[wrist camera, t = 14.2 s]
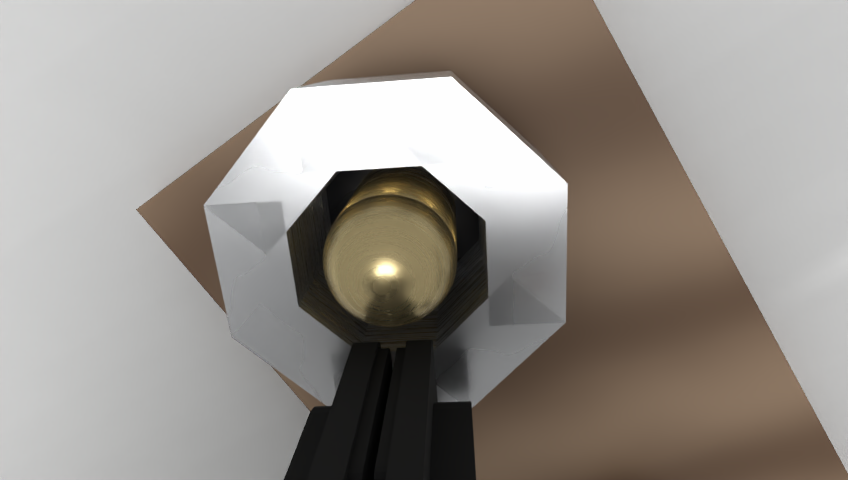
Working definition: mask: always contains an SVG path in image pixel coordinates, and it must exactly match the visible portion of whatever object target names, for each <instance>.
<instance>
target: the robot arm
mask: <svg viewBox="0 0 848 480" xmlns="http://www.w3.org/2000/svg"><path fill="white" fill-rule="evenodd" d="M284 480H476V468H475V452H474V435H473V419H472V403H471V401H461V402H438V400H437V386H436V373H435V360H434V347H433V340H432V339H430V340H407V341H406V347H402V348H397V349H396V354H395V360H394V365H393V370H392V361H391V352H390V349H389V348H381V344H380V342H357V343H353V344H352V347H351V350H350V353H349V356H348V359H347V362H346V365H345V367H344V370H343V373H342V376H341V379H340V382H339V385H338V388H337V391H336V394H335V397H334V400H333V403H332V406H315V407H314V408H312V410H311V412H310V414H309V417H308V419H307V422H306V424H305V427H304V430H303V432H302V435H301V437H300V440H299V442H298V445H297V448H296V450H295V453H294V455H293V458H292V460H291V463H290V465H289V468H288V471H287V473H286V476H285V478H284Z"/></svg>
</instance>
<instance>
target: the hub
mask: <svg viewBox="0 0 848 480" xmlns="http://www.w3.org/2000/svg"><path fill="white" fill-rule="evenodd" d="M326 192H327V200H328V207H329V214H330V222H331V228H330V230H329V232H328V235H327V238H326V240H325V244H324V249H323V270H324V275H325V279H326V281H327V284H328V287H329V289H330V291H331V293H332V295H333V296H334V297H335V299H336V300H337V302H338V303H339V304H340V305H341V306H342V307H343V308H344V309H345V310H346V311H347V312H349V313H350V314H351V315H353V316H354V317H356V318H358V319H360V320H362V321H364V322H367V323H369V324H373V325H377V326H384V327H394V326H402V325H406V324H410V323H413V322H416V321H418V320H420V319H422V318H424V317H425V316H427V315H428V314H430V313H431V312H432V311H433V310H435V309H436V308H437V307H438V306H439V305H440V304H441V303H442V301H443V300H444V299H445V297H446V296H447V294H448V292H449V291H450V288H451V286H452V284H453V282H454V278H455V275H456V268H457V262H458V261H459V260H460V259H461V258H462V257H463V256H464V255H465V254H466V253H467V252H468V251H469V250H470V249H471V247H472V246H473V245H474V244H475V243H476V242H477V241H478V240H479V217H478V214H477V213H476V212H475V211H474V210H472V209H471V208H470V207H469V206H468V205H467V204H465V203H464V202H463V201H462V200H461V199H460V198H459V197H457V196H456V195H455V194H454V193H453V192H452V191H450V190H449V189H448V188H447V187H446V186H445V185H443V184H442V183H441V182H440V181H439V180H438V179H437V178H435V177H434V176H433V175H432V174H431V173H430V172H428V171H427V170H426V169H425V168H424V167H423V166H410V167H394V168H378V169H363V170H347V171H340V172H339V173H338V175H337V176H336V177H335V178H334V180H333V181H332V182H331V183H330V184H329V186H328V187H327V188H326Z"/></svg>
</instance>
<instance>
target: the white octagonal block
mask: <svg viewBox="0 0 848 480" xmlns="http://www.w3.org/2000/svg"><path fill="white" fill-rule="evenodd" d="M410 166H423V167H424V168H425V169H426V170H427V171H428V172H430V173H431V174H432V175H433V176H434V177H435V178H437V179H438V180H439V181H440V182H441V183H442V184H443V185H445V186H446V187H447V188H448V189H449V190H450V191H452V192H453V193H454V194H455V195H456V196H457V197H459V198H460V199H461V200H462V201H463V202H464V203H465V204H467V205H468V206H469V207H470V208H471V209H472V210H474V211H475V212H476V213H477V214H478V217H479V240H478V241H477V242H476V243H475V244H474V245H473V246H472V247H471V249H470V250H469V251H468V252H467V253H466V254H465V255H464V256H463V257H462V258H461V259H460V260H459V261H458V262H457V268H456V275H455V278H454V282H453V284H452V286H451V288H450V291H449V292H448V294H447V296H446V297H445V299H444V300H443V301H442V303H441V304H440V305H439V306H438V307H437V308H436V309H435V310H433V311H432V312H431V313H430V314H428V315H427V316H425V317H424V318H422V319H420V320H418V321H416V322H413V323H410V324H406V325H402V326H394V327H384V326H377V325H373V324H369V323H367V322H364V321H362V320H360V319H358V318H356V317H354V316H353V315H351V314H350V313H349V312H347V311H346V310H345V309H344V308H343V307H342V306H341V305H340V304H339V303H338V302H337V300H336V299H335V297H334V296H333V295H332V293H331V291H330V289H329V287H328V284H327V281H326V279H325V275H324V270H323V249H324V244H325V240H326V238H327V235H328V232H329V230H330V228H331V222H330V214H329V207H328V200H327V192H326V188H327V187H328V186H329V184H330V183H331V182H332V181H333V180H334V178H335V177H336V176H337V175H338V173H339V172H340V171H347V170H363V169H378V168H394V167H410ZM567 196H568V183H567V182H566V181H565V180H564V179H563V178H562V176H561V175H560V174H559V173H558V172H557V171H556V170H555V169H554V168H553V166H552V165H551V164H550V163H549V162H548V161H547V160H546V159H545V158H544V156H543V155H542V154H541V153H540V152H539V151H538V150H537V149H536V148H535V147H534V146H533V145H532V144H530V143H529V142H528V141H527V140H526V139H525V138H524V137H523V136H522V135H521V134H520V133H518V132H517V131H516V130H515V129H514V128H513V127H512V126H511V125H510V124H509V123H508V122H506V121H505V120H504V119H503V118H502V117H501V116H500V115H499V114H498V113H497V112H496V111H495V110H493V109H492V108H491V107H490V106H489V105H488V104H487V103H486V102H485V101H484V100H483V99H481V98H480V97H479V96H478V95H477V94H476V93H475V92H474V91H473V90H472V89H471V88H469V87H468V86H467V85H466V84H465V83H464V82H463V81H462V80H461V79H460V78H459V77H457V76H456V75H455V74H454V73H453V72H452V71H440V72H426V73H413V74H400V75H386V76H373V77H360V78H347V79H333V80H328V81H323V82H319V83H315V84H310V85H306V86H301V87H297V88H292V89H290V90H289V92H288V93H287V94H286V96H285V97H284V98H283V100H282V101H281V102H280V104H279V105H278V106H277V108H276V109H275V110H274V112H273V113H272V114H271V116H270V117H269V118H268V120H267V121H266V122H265V124H264V125H263V126H262V128H261V129H260V130H259V132H258V133H257V134H256V136H255V137H254V138H253V140H252V141H251V143H250V144H249V145H248V147H247V148H246V149H245V151H244V152H243V153H242V155H241V156H240V157H239V159H238V160H237V161H236V163H235V164H234V165H233V167H232V168H231V169H230V171H229V172H228V173H227V175H226V176H225V177H224V179H223V180H222V181H221V183H220V184H219V185H218V187H217V188H216V189H215V191H214V192H213V193H212V195H211V196H210V197H209V199H208V200H207V201H206V203H205V204H204V210H205V215H206V219H207V224H208V229H209V233H210V238H211V243H212V247H213V252H214V257H215V261H216V266H217V271H218V275H219V280H220V285H221V289H222V294H223V299H224V304H225V308H226V313H227V318H228V322H229V327H230V332H231V336H232V338H234V339H235V340H236V341H238V342H239V343H241V344H242V345H243V346H245V347H246V348H248V349H249V350H250V351H252V352H253V353H254V354H256V355H257V356H259V357H260V358H261V359H263V360H264V361H265V362H267V363H268V364H270V365H271V366H272V367H274V368H275V369H276V370H278V371H279V372H281V373H282V374H283V375H285V376H286V377H287V378H289V379H290V380H292V381H293V382H294V383H296V384H297V385H298V386H300V387H301V388H303V389H304V390H305V391H307V392H308V393H310V394H311V395H312V396H314V397H315V398H316V399H318V400H319V401H321V402H322V403H323V404H325V405H326V406H332V403H333V400H334V397H335V394H336V391H337V388H338V385H339V382H340V379H341V376H342V373H343V370H344V367H345V365H346V362H347V359H348V356H349V353H350V350H351V347H352V344H353V343H357V342H380V344H381V348H389V349H390V352H391V361H392V370H393V365H394V360H395V354H396V349H397V348H402V347H406V341H407V340H430V339H432V340H433V347H434V360H435V373H436V386H437V400H438V402H461V401H471V403H472V408H473V407H474V406H475V405H476V404H477V403H478V402H479V401H480V400H482V399H483V398H484V397H485V396H486V395H487V394H488V393H489V392H490V391H491V390H492V389H494V388H495V387H496V386H497V385H498V384H499V383H500V382H501V381H502V380H503V379H505V378H506V377H507V376H508V375H509V374H510V373H511V372H512V371H513V370H514V369H515V368H517V367H518V366H519V365H520V364H521V363H522V362H523V361H524V360H525V359H526V358H528V357H529V356H530V355H531V354H532V353H533V352H534V351H535V350H536V349H537V348H538V347H540V346H541V345H542V344H543V343H544V342H545V341H546V340H547V339H548V338H549V337H550V336H552V335H553V334H554V333H555V332H556V331H557V330H558V329H559V328H560V327H561V326H563V325H564V324H565V323H566V270H567Z"/></svg>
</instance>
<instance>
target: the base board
mask: <svg viewBox="0 0 848 480" xmlns="http://www.w3.org/2000/svg"><path fill="white" fill-rule="evenodd" d="M440 71H452V72H453V73H454V74H455V75H456V76H457V77H459V78H460V79H461V80H462V81H463V82H464V83H465V84H466V85H467V86H468V87H469V88H471V89H472V90H473V91H474V92H475V93H476V94H477V95H478V96H479V97H480V98H481V99H483V100H484V101H485V102H486V103H487V104H488V105H489V106H490V107H491V108H492V109H493V110H495V111H496V112H497V113H498V114H499V115H500V116H501V117H502V118H503V119H504V120H505V121H506V122H508V123H509V124H510V125H511V126H512V127H513V128H514V129H515V130H516V131H517V132H518V133H520V134H521V135H522V136H523V137H524V138H525V139H526V140H527V141H528V142H529V143H530V144H532V145H533V146H534V147H535V148H536V149H537V150H538V151H539V152H540V153H541V154H542V155H543V156H544V158H545V159H546V160H547V161H548V162H549V163H550V164H551V165H552V166H553V168H554V169H555V170H556V171H557V172H558V173H559V174H560V175H561V176H562V178H563V179H564V180H565V181H566V182H567V183H568V196H567V270H566V323H565V324H564V325H563V326H561V327H560V328H559V329H558V330H557V331H556V332H555V333H554V334H553V335H552V336H550V337H549V338H548V339H547V340H546V341H545V342H544V343H543V344H542V345H541V346H540V347H538V348H537V349H536V350H535V351H534V352H533V353H532V354H531V355H530V356H529V357H528V358H526V359H525V360H524V361H523V362H522V363H521V364H520V365H519V366H518V367H517V368H515V369H514V370H513V371H512V372H511V373H510V374H509V375H508V376H507V377H506V378H505V379H503V380H502V381H501V382H500V383H499V384H498V385H497V386H496V387H495V388H494V389H492V390H491V391H490V392H489V393H488V394H487V395H486V396H485V397H484V398H483V399H482V400H480V401H479V402H478V403H477V404H476V405H475V406H474V407H473V408H472V419H473V435H474V452H475V468H476V480H848V473H847V471H846V470H845V468H844V466H843V464H842V462H841V460H840V458H839V457H838V455H837V453H836V451H835V449H834V447H833V445H832V444H831V442H830V440H829V438H828V436H827V434H826V432H825V431H824V429H823V427H822V425H821V423H820V421H819V419H818V418H817V416H816V414H815V412H814V410H813V408H812V406H811V405H810V403H809V401H808V399H807V397H806V395H805V393H804V392H803V390H802V388H801V386H800V384H799V382H798V380H797V379H796V377H795V375H794V373H793V371H792V369H791V367H790V365H789V364H788V362H787V360H786V358H785V356H784V354H783V352H782V351H781V349H780V347H779V345H778V343H777V341H776V339H775V338H774V336H773V334H772V332H771V330H770V328H769V326H768V325H767V323H766V321H765V319H764V317H763V315H762V313H761V312H760V310H759V308H758V306H757V304H756V302H755V300H754V299H753V297H752V295H751V293H750V291H749V289H748V287H747V286H746V284H745V282H744V280H743V278H742V276H741V274H740V273H739V271H738V269H737V267H736V265H735V263H734V261H733V260H732V258H731V256H730V254H729V252H728V250H727V248H726V247H725V245H724V243H723V241H722V239H721V237H720V235H719V234H718V232H717V230H716V228H715V226H714V224H713V222H712V221H711V219H710V217H709V215H708V213H707V211H706V209H705V208H704V206H703V204H702V202H701V200H700V198H699V196H698V195H697V193H696V191H695V189H694V187H693V185H692V183H691V182H690V180H689V178H688V176H687V174H686V172H685V170H684V169H683V167H682V165H681V163H680V161H679V159H678V157H677V156H676V154H675V152H674V150H673V148H672V146H671V144H670V142H669V141H668V139H667V137H666V135H665V133H664V131H663V129H662V128H661V126H660V124H659V122H658V120H657V118H656V116H655V115H654V113H653V111H652V109H651V107H650V105H649V103H648V102H647V100H646V98H645V96H644V94H643V92H642V90H641V89H640V87H639V85H638V83H637V81H636V79H635V77H634V76H633V74H632V72H631V70H630V68H629V66H628V64H627V63H626V61H625V59H624V57H623V55H622V53H621V51H620V50H619V48H618V46H617V44H616V42H615V40H614V38H613V37H612V35H611V33H610V31H609V29H608V27H607V25H606V24H605V22H604V20H603V18H602V16H601V14H600V12H599V11H598V9H597V7H596V5H595V3H594V1H593V0H415V1H414V2H412V3H411V4H410V5H408V6H407V7H406V8H404V9H403V10H402V11H400V12H399V13H398V14H396V15H395V16H394V17H392V18H391V19H390V20H388V21H387V22H386V23H384V24H383V25H382V26H380V27H379V28H378V29H376V30H375V31H374V32H372V33H371V34H370V35H368V36H367V37H366V38H364V39H363V40H362V41H360V42H359V43H358V44H356V45H355V46H354V47H352V48H351V49H350V50H348V51H347V52H346V53H344V54H343V55H342V56H340V57H339V58H338V59H336V60H335V61H334V62H332V63H331V64H330V65H328V66H327V67H326V68H324V69H323V70H322V71H320V72H319V73H318V74H316V75H315V76H314V77H312V78H311V79H310V80H308V81H307V82H306V83H304V84H303V85H302V86H306V85H310V84H315V83H319V82H323V81H328V80H333V79H347V78H360V77H373V76H386V75H400V74H413V73H426V72H440ZM300 87H301V86H300ZM280 102H281V101H280ZM280 102H279V103H278V104H276V105H275V106H274V107H272V108H271V109H270V110H268V111H267V112H266V113H264V114H263V115H262V116H260V117H259V118H258V119H256V120H255V121H254V122H252V123H251V124H250V125H248V126H247V127H246V128H244V129H243V130H242V131H240V132H239V133H238V134H236V135H235V136H234V137H232V138H231V139H230V140H228V141H227V142H226V143H224V144H223V145H222V146H220V147H219V148H218V149H216V150H215V151H214V152H212V153H211V154H210V155H208V156H207V157H206V158H204V159H203V160H202V161H200V162H199V163H198V164H196V165H195V166H194V167H192V168H191V169H190V170H188V171H187V172H186V173H184V174H183V175H182V176H180V177H179V178H178V179H176V180H175V181H174V182H172V183H171V184H170V185H168V186H167V187H166V188H164V189H163V190H162V191H160V192H159V193H158V194H156V195H155V196H154V197H152V198H151V199H150V200H148V201H147V202H146V203H144V204H143V205H142V206H140V207H139V208H138V209H136V210H137V211H138V212H139V213H140V215H141V216H142V217H143V218H144V219H145V220H146V221H147V223H148V224H149V225H150V226H151V227H152V228H153V230H154V231H155V232H156V233H157V234H158V235H159V237H160V238H161V239H162V240H163V241H164V242H165V244H166V245H167V246H168V247H169V248H170V249H171V250H172V252H173V253H174V254H175V255H176V256H177V257H178V259H179V260H180V261H181V262H182V263H183V264H184V266H185V267H186V268H187V269H188V270H189V271H190V272H191V274H192V275H193V276H194V277H195V278H196V279H197V281H198V282H199V283H200V284H201V285H202V286H203V288H204V289H205V290H206V291H207V292H208V293H209V295H210V296H211V297H212V298H213V299H214V300H215V301H216V303H217V304H218V305H219V306H220V307H221V308H222V310H223V311H224V312H225V313H226V308H225V304H224V299H223V294H222V289H221V285H220V280H219V275H218V271H217V266H216V261H215V257H214V252H213V247H212V243H211V238H210V233H209V229H208V224H207V219H206V215H205V210H204V204H205V203H206V201H207V200H208V199H209V197H210V196H211V195H212V193H213V192H214V191H215V189H216V188H217V187H218V185H219V184H220V183H221V181H222V180H223V179H224V177H225V176H226V175H227V173H228V172H229V171H230V169H231V168H232V167H233V165H234V164H235V163H236V161H237V160H238V159H239V157H240V156H241V155H242V153H243V152H244V151H245V149H246V148H247V147H248V145H249V144H250V143H251V141H252V140H253V138H254V137H255V136H256V134H257V133H258V132H259V130H260V129H261V128H262V126H263V125H264V124H265V122H266V121H267V120H268V118H269V117H270V116H271V114H272V113H273V112H274V110H275V109H276V108H277V106H278V105H279V104H280ZM226 314H227V313H226ZM272 368H273V369H274V370H275V371H276V372H277V373H278V374H279V376H280V377H281V378H282V379H283V380H284V381H285V383H286V384H287V385H288V386H289V387H290V388H291V390H292V391H293V392H294V393H295V394H296V395H297V397H298V398H299V399H300V400H301V401H302V402H303V403H304V405H305V406H306V407H307V408H308V409H309V410H310V412H311V410H312V408H314V407H315V406H326V405H325V404H323V403H322V402H321V401H319V400H318V399H316V398H315V397H314V396H312V395H311V394H310V393H308V392H307V391H305V390H304V389H303V388H301V387H300V386H298V385H297V384H296V383H294V382H293V381H292V380H290V379H289V378H287V377H286V376H285V375H283V374H282V373H281V372H279V371H278V370H276V369H275V368H274V367H272Z"/></svg>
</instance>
